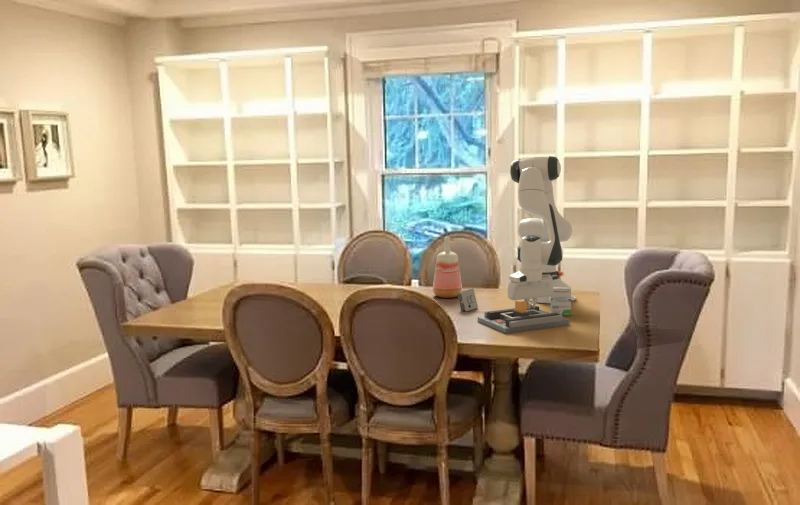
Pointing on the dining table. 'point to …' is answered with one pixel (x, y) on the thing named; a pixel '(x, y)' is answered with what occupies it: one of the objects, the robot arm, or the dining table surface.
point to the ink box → (561, 300)
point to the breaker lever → (520, 309)
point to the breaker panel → (502, 327)
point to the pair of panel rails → (525, 320)
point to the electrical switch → (467, 300)
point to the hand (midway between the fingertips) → (530, 308)
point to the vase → (447, 273)
